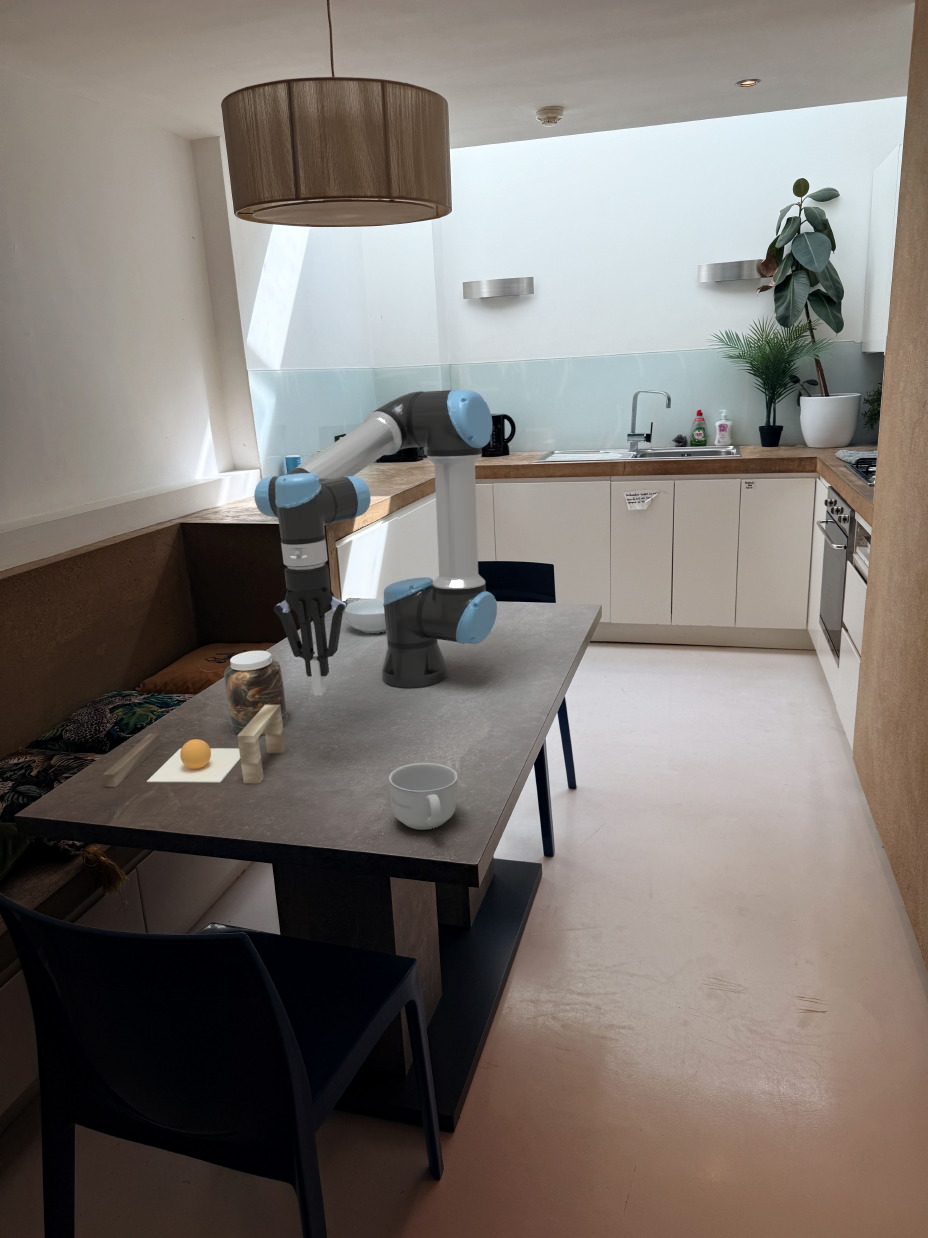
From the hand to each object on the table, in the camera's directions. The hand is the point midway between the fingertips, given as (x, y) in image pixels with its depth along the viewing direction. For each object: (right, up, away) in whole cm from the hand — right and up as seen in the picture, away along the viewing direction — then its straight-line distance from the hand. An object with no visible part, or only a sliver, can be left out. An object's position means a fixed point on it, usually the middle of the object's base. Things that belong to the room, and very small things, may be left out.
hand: (320, 692), depth 157 cm
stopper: (-37, -15, +9) cm, 41 cm away
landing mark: (-24, -14, +7) cm, 29 cm away
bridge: (-11, -14, +6) cm, 19 cm away
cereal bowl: (+1, +10, +87) cm, 88 cm away
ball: (-24, -12, +6) cm, 28 cm away
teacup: (+20, -20, -19) cm, 34 cm away
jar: (-17, -9, +25) cm, 31 cm away
